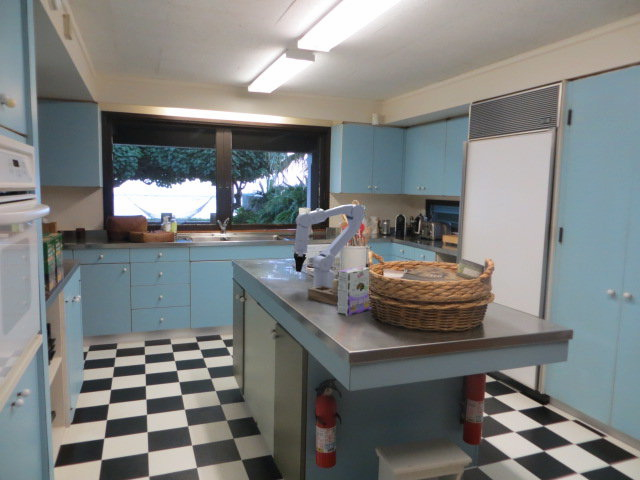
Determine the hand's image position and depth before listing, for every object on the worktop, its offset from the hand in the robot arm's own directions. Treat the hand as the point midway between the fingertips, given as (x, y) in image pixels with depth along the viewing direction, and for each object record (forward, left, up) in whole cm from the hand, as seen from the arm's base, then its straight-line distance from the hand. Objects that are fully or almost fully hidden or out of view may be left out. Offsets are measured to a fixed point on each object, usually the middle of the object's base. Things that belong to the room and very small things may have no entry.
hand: (298, 270), depth 207 cm
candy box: (+7, +39, -10) cm, 40 cm away
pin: (+1, +23, -9) cm, 25 cm away
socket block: (+1, +20, -10) cm, 22 cm away
